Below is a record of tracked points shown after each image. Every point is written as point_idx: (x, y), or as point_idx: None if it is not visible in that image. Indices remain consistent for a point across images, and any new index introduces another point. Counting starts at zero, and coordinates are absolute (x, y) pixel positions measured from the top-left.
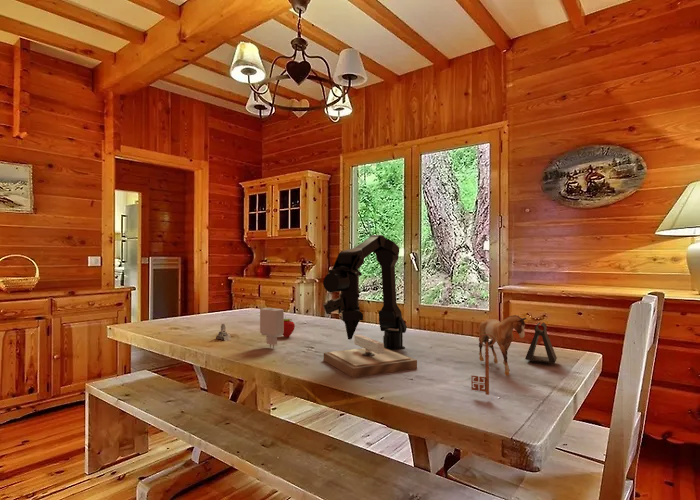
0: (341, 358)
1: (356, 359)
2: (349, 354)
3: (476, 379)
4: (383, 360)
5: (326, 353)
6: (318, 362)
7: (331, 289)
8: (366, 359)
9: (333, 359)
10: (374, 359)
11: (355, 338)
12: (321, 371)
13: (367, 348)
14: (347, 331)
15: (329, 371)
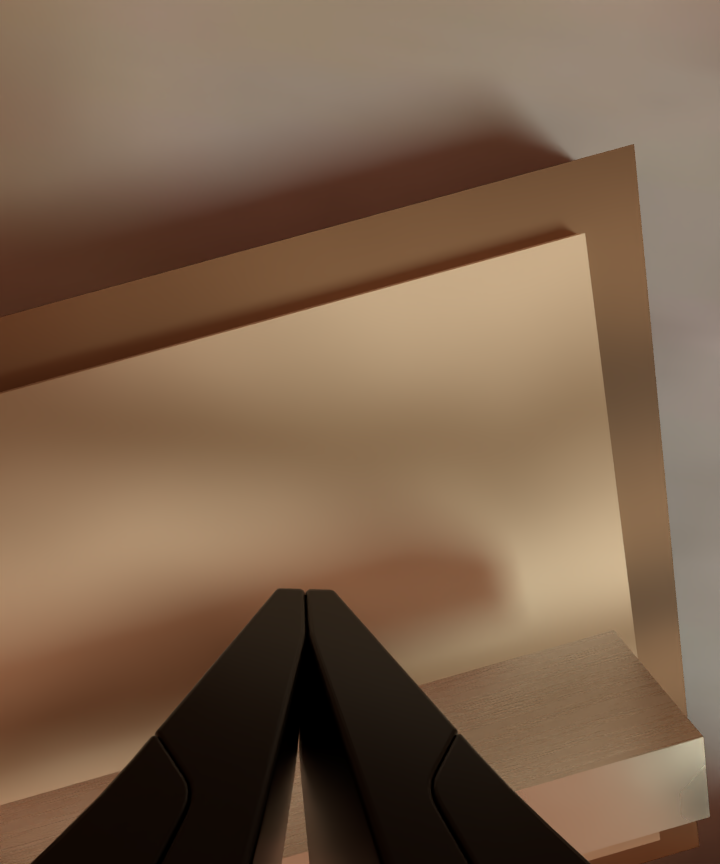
0: (161, 348)
1: (75, 532)
2: (365, 488)
3: None
4: (2, 797)
5: (576, 183)
6: (499, 73)
7: None
8: (63, 642)
9: (270, 245)
10: (58, 721)
11: (630, 706)
12: (36, 37)
13: None
14: (184, 710)
15: (31, 152)
